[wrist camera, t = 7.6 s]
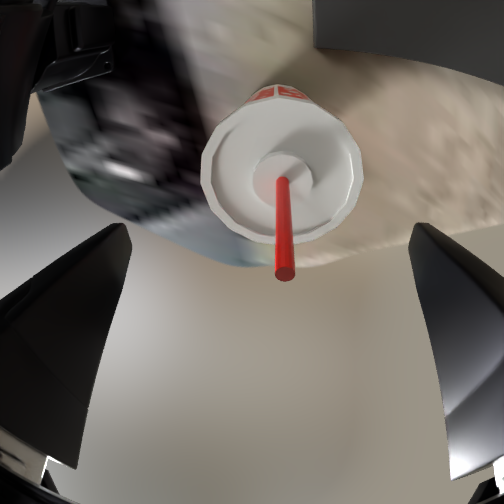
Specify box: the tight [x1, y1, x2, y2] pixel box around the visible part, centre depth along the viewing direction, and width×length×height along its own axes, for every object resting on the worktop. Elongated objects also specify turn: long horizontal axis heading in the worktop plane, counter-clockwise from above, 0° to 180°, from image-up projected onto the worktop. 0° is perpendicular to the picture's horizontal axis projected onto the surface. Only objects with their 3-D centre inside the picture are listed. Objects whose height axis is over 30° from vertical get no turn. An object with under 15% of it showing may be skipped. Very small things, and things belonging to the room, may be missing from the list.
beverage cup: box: [200, 84, 364, 282], centre depth 13 cm, size 6×6×14 cm
